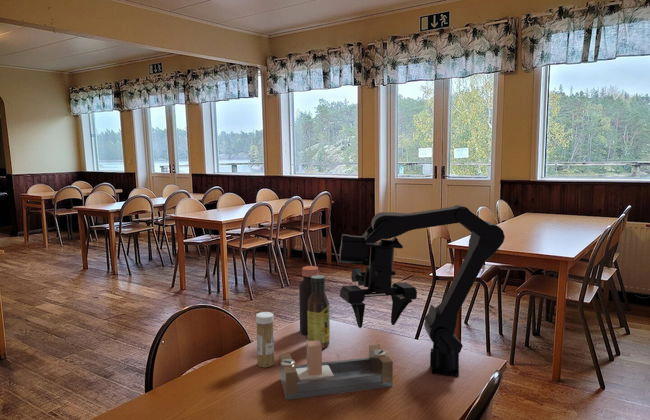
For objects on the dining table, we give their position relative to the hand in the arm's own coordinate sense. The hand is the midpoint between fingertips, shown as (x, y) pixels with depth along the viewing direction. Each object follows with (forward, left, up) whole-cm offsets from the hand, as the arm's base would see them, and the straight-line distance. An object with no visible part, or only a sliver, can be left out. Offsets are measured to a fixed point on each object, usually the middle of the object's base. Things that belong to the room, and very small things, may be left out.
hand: (376, 326), depth 119 cm
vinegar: (+23, -21, -12) cm, 33 cm away
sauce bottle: (+18, -12, -12) cm, 25 cm away
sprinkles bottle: (+28, +3, -12) cm, 31 cm away
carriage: (+13, +11, -10) cm, 20 cm away
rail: (+8, +9, -12) cm, 16 cm away
